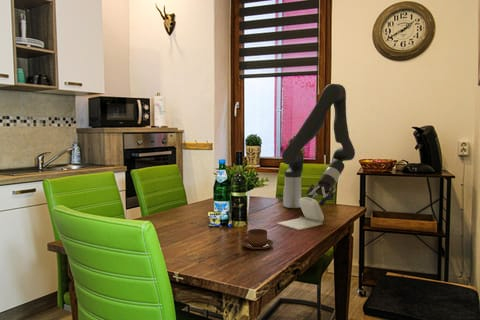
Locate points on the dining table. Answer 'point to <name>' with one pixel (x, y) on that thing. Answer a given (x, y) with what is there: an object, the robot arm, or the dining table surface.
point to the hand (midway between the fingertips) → (313, 204)
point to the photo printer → (311, 209)
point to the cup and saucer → (257, 239)
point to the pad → (300, 223)
